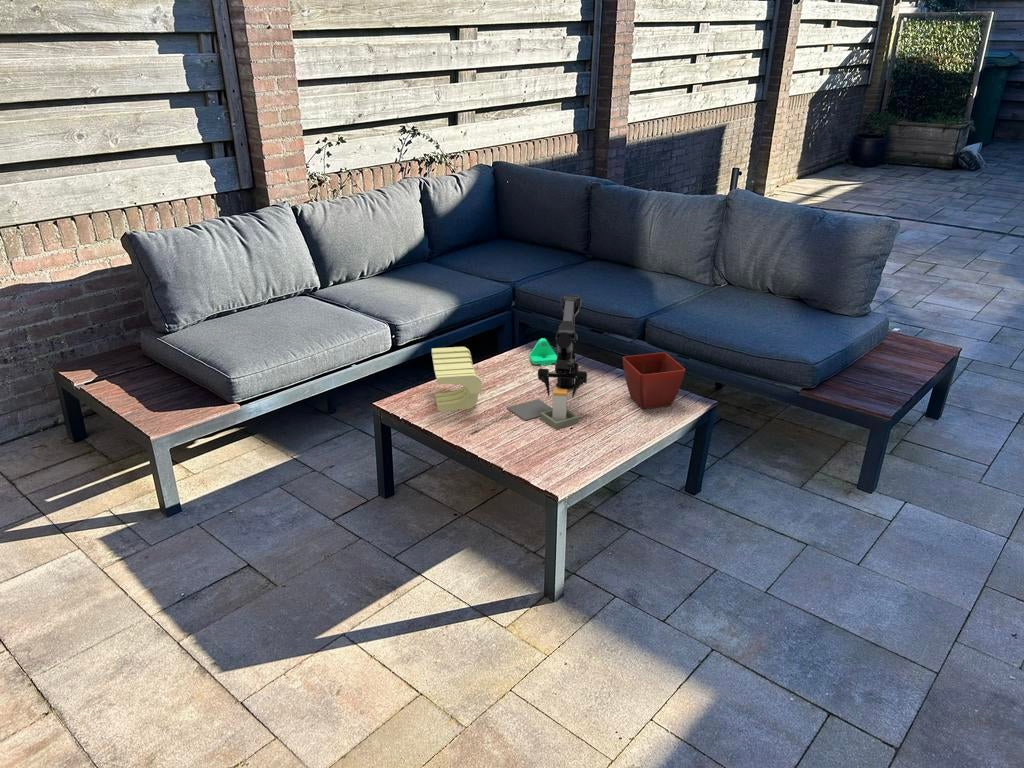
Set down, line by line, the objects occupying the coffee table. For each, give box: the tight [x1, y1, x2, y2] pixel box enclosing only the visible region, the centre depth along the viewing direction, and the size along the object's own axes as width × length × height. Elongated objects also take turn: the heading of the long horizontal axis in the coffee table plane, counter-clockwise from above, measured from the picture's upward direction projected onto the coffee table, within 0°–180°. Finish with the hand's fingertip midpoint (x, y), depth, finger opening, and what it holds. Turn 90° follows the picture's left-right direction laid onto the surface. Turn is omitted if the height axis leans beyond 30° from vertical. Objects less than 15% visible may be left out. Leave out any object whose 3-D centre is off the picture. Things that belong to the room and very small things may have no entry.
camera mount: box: [528, 337, 557, 367], centre depth 360 cm, size 12×8×10 cm, turn 103°
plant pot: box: [622, 352, 686, 410], centre depth 322 cm, size 19×19×17 cm
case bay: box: [539, 409, 580, 430], centre depth 308 cm, size 11×11×2 cm
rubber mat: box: [506, 398, 553, 422], centre depth 316 cm, size 15×13×1 cm
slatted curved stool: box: [431, 346, 482, 412], centre depth 319 cm, size 30×16×18 cm, turn 10°
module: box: [551, 388, 569, 422], centre depth 306 cm, size 4×5×12 cm
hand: (560, 396), depth 306 cm, fingers open, 9 cm apart
